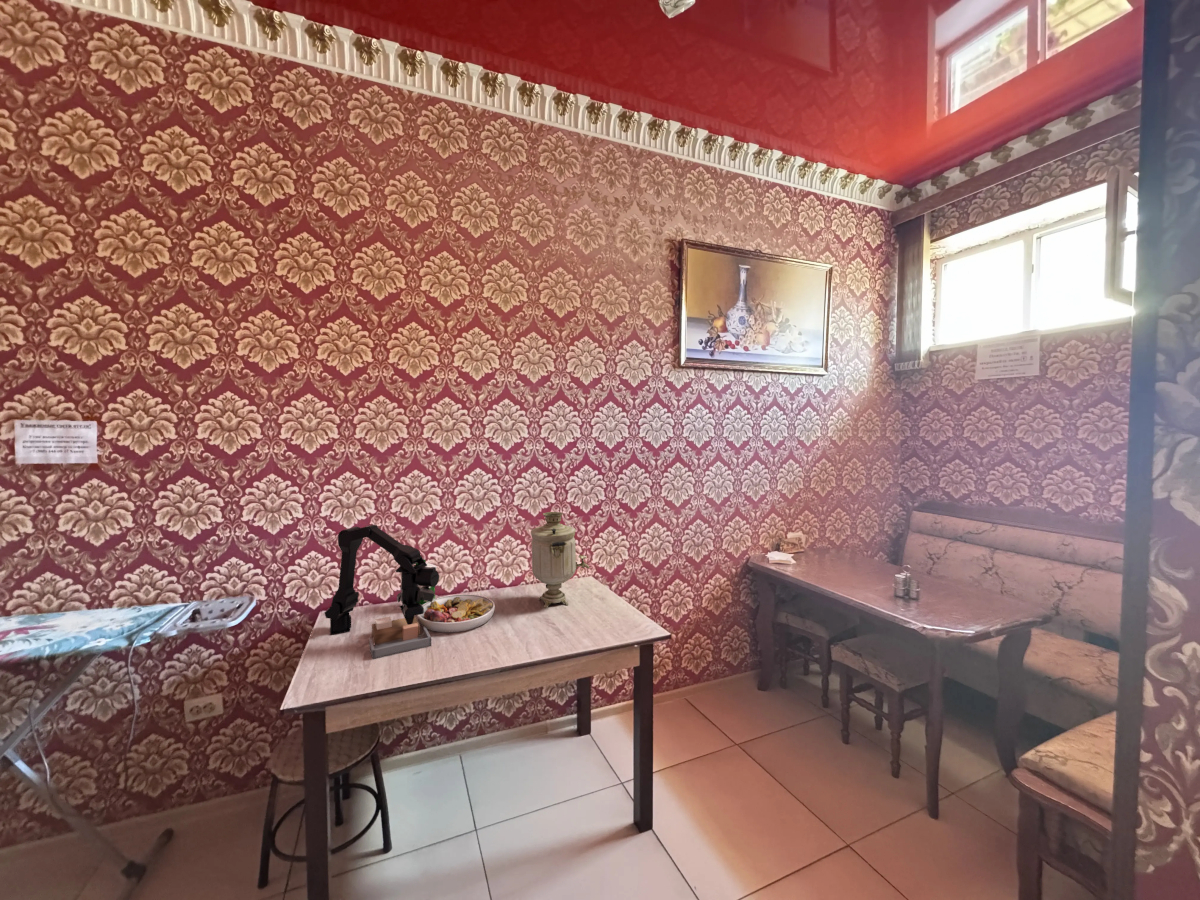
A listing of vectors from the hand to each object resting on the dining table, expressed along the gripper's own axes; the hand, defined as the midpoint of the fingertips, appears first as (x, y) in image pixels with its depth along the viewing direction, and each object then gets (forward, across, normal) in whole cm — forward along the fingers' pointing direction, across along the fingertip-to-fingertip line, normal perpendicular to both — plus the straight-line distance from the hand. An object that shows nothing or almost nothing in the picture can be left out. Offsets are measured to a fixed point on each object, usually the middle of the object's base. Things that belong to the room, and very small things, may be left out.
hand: (410, 626), depth 171 cm
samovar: (+5, +4, -64) cm, 64 cm away
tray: (+5, -5, +4) cm, 8 cm away
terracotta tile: (+1, 0, 0) cm, 1 cm away
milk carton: (+5, +28, -10) cm, 31 cm away
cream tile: (+1, +7, +8) cm, 11 cm away
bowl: (+5, +10, -19) cm, 22 cm away
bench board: (+5, +6, +4) cm, 8 cm away
